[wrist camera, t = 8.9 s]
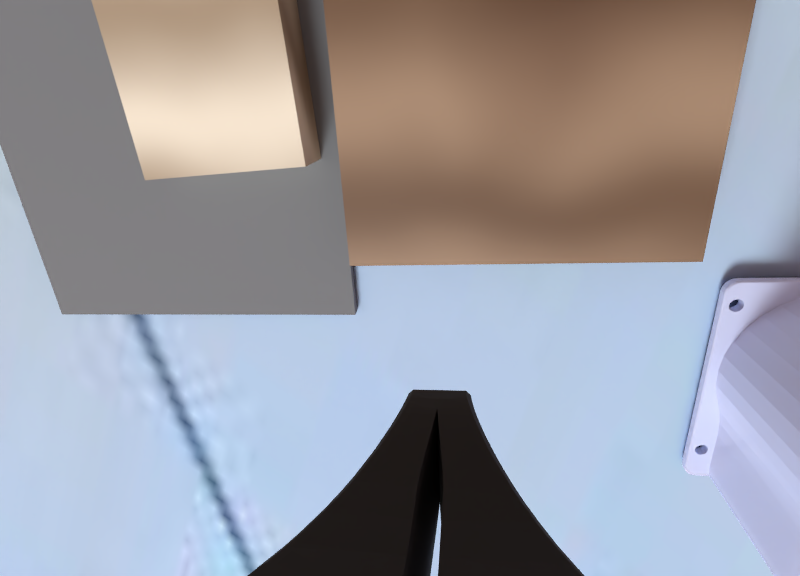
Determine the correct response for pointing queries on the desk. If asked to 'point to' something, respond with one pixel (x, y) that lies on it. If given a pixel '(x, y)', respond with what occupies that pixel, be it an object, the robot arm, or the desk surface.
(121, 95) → the tile
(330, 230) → the mat
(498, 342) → the desk surface
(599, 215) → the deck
